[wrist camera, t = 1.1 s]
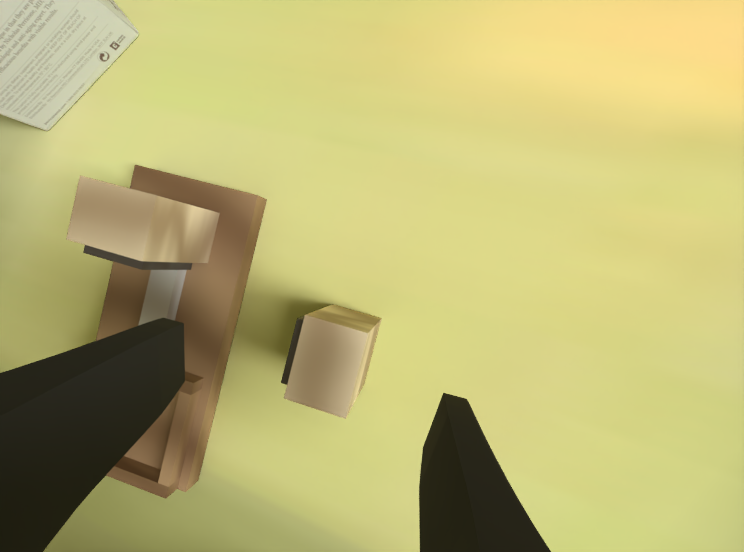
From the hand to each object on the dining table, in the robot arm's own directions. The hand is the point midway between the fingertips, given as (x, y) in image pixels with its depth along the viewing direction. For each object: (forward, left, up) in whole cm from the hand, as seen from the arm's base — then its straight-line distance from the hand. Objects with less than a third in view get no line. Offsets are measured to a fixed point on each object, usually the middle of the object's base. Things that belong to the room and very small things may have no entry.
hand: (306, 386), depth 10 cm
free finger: (-1, +1, -11) cm, 12 cm away
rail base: (-3, +12, -11) cm, 17 cm away
